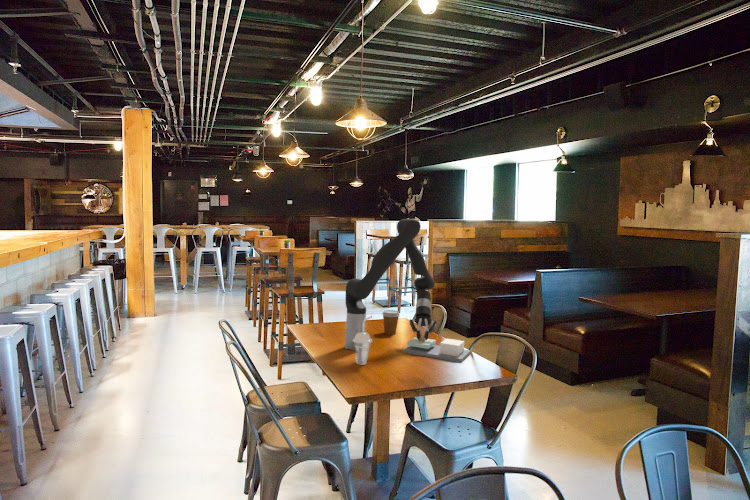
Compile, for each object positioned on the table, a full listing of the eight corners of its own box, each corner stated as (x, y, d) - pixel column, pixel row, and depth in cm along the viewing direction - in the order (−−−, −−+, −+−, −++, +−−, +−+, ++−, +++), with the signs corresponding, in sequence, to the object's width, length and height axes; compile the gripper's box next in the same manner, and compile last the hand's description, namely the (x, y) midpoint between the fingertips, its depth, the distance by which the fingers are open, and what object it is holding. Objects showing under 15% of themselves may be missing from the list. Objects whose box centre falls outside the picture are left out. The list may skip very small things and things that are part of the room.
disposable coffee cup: (389, 330, 283) (390, 309, 282) (402, 333, 276) (403, 312, 276) (377, 332, 276) (378, 311, 276) (390, 335, 270) (391, 314, 269)
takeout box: (457, 356, 230) (458, 345, 229) (439, 353, 233) (440, 342, 233) (463, 351, 240) (464, 341, 239) (445, 348, 243) (446, 338, 243)
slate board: (461, 362, 226) (461, 359, 225) (403, 352, 237) (403, 349, 237) (470, 353, 242) (470, 350, 242) (416, 344, 253) (416, 341, 253)
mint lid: (428, 348, 235) (429, 330, 234) (407, 345, 239) (408, 327, 238) (435, 343, 246) (437, 325, 246) (416, 340, 250) (417, 323, 250)
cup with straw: (348, 361, 218) (351, 315, 217) (367, 359, 222) (370, 315, 220) (355, 366, 210) (358, 319, 209) (375, 365, 214) (377, 319, 213)
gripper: (409, 304, 249) (408, 333, 238) (437, 306, 248) (437, 335, 237) (409, 312, 255) (407, 342, 243) (436, 314, 254) (436, 344, 243)
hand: (422, 338), depth 240 cm, fingers closed on mint lid, 3 cm apart
